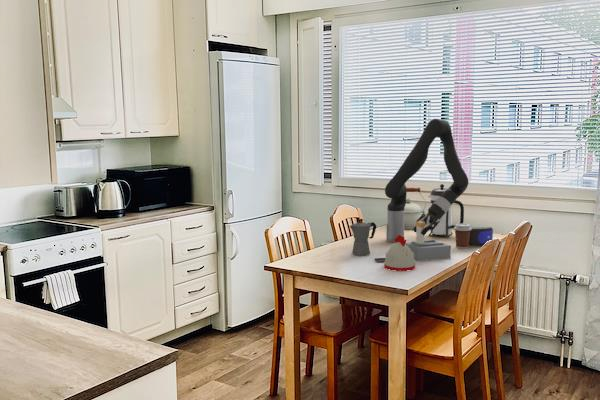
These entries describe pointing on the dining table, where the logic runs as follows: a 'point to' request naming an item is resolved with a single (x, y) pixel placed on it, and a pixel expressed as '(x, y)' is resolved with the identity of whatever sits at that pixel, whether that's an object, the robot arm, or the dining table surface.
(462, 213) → the coffee press
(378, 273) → the dining table surface
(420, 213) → the kettle
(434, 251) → the box
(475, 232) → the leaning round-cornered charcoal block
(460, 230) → the coffee cup
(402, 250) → the cream and red dome
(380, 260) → the cords
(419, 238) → the breaker slider
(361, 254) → the coffeepot
